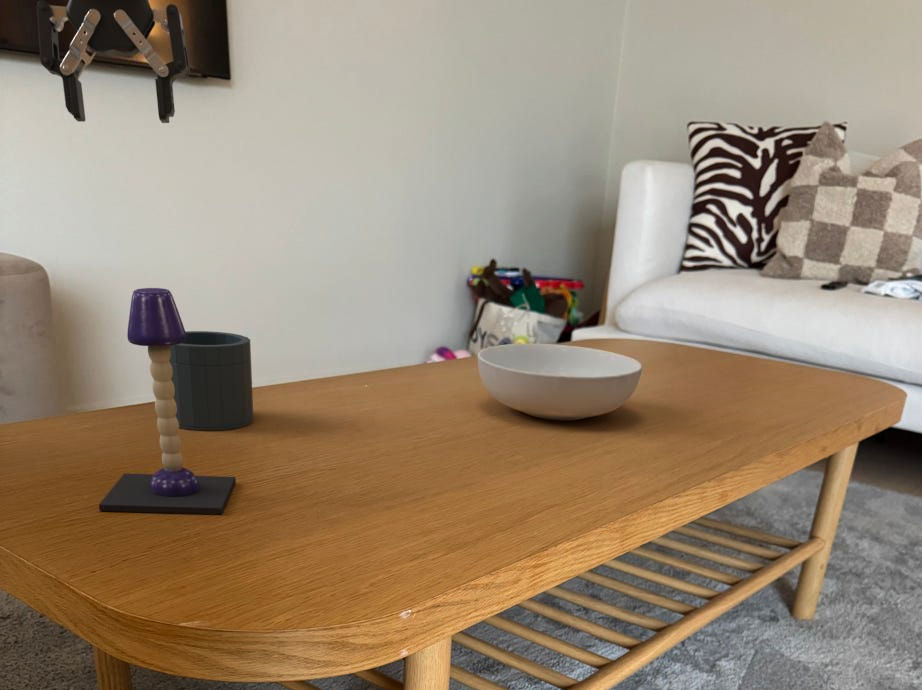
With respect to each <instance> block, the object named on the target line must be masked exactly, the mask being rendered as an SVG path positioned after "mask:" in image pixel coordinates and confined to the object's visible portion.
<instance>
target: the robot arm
mask: <svg viewBox="0 0 922 690" xmlns="http://www.w3.org/2000/svg"><path fill="white" fill-rule="evenodd" d="M36 16H37V29H38V31H37V32H38V43H39V46H38V47H39V59H40V65H42V66H43V67H44V68H45V69H46V70H47V72H48V73H50V74H52V75H55V76H58V77H60V78H61V79H62V86H63V95H64V102H65V103H64V104H65V108H66V110H67V112H68V113H69V114H70V115H71V116H72V117H73V118H74V120H75V121H77V122H80V123H81V122H83V123H84V122H86V112H85V111H86V110H85V103H84V95H83V87H82V82H81V81H80V77H81V76H82V74H83V73H84V71H85V69H86V67H87V66H88V65H90V64H91V63H92V61H93V59H94V58H95V55H96V54H97V55H99V56H101V58H113V57H116V56H119V57H121V58H127V59H133V58H134V56H136V55H138V54H139V53H140V55H141V56H142V57H143V58H144V60H145V61H146V63H148V65H149V66H150V67H151V68H152V70H153V71H154V72H155V73H156V76H157V78H155V79H154V81H155V82H154V83H155V90H156V91H155V92H156V102H157V113H158V117H159V118H158V119H159V121H160V122H161V123H162V124H169V123H170V118H174V116H175V112H176V110H175V99H174V98H175V97H174V88H173V84H174V82H175V81H176V80H178V79H180V78H188V77H189V76H190V73H191V70H190V62H189V54H188V49H187V41H186V34H185V28H184V20H183V16H182V14H181V12H180V10H179V9H178V7H177V5H175V4H173V3H170V4H168V5H167V6H166V8H152V6H151V4H150V1H149V0H68V2H67V4H66V6H64V5H63V6H62V5H53V4H49V3H48V2H47V1H46V0H39V1H37V4H36ZM67 21H69V22H70V23H71V25H72V26H73V27H74V29H75V30H76V31H77V32H76V34H75V35H74V37H73V39H72V40H71V42H70V44H69V47H68V48H69V49H68V51H67V53H66V55H65V56H64V58H63V60H60V50H59V49H60V48H59V32H62V31H63V30H64V25H65V22H67ZM156 23H157V24H159V25H160V26H161V28H162V30H163V32H164V33H165V34H166V35H169V41H170V46H171V48H170V49H171V53H172V60H173V61H170V62H167V63H165V62H164V61H163V59H162V58H161V57H160V56H159V54H158V53H157V52H156V50H155V49H154V47H153V46H152V45H151V44H150V42H149V41H148V38H149V36H150V35H151V33H152V31H153V29H154V27H155V25H156Z"/></svg>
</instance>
